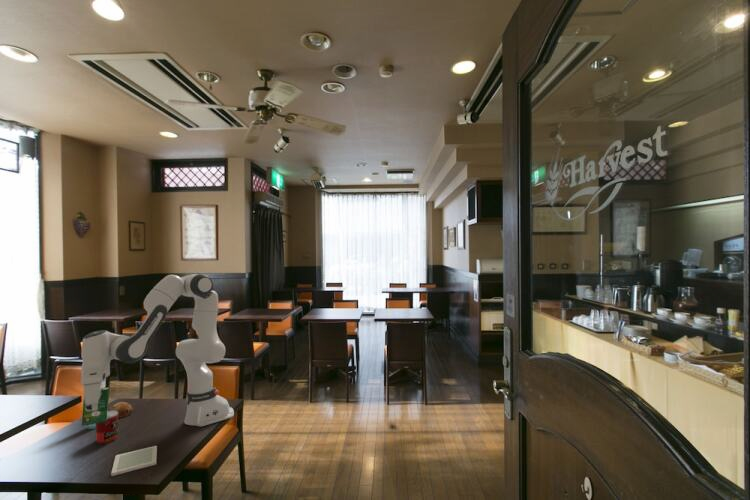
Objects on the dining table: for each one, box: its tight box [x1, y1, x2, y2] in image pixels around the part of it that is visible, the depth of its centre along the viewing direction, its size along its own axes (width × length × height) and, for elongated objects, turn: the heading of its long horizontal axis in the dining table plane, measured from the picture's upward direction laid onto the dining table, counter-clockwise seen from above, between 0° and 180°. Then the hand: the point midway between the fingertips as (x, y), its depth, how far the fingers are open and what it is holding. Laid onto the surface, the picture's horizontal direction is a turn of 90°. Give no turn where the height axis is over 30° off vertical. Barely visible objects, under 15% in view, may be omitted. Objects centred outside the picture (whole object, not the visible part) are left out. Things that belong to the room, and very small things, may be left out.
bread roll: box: [108, 401, 134, 419], centre depth 180 cm, size 10×10×8 cm
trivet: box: [110, 445, 158, 477], centre depth 138 cm, size 14×14×1 cm
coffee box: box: [81, 386, 110, 426], centre depth 139 cm, size 8×3×13 cm, turn 121°
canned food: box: [95, 410, 119, 445], centre depth 155 cm, size 8×8×11 cm
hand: (96, 407), depth 139 cm, fingers closed on coffee box, 3 cm apart
